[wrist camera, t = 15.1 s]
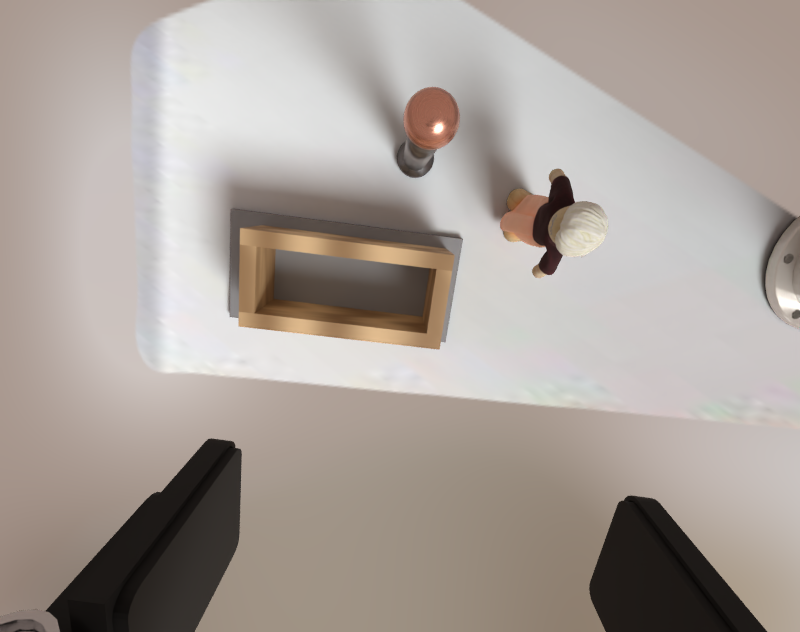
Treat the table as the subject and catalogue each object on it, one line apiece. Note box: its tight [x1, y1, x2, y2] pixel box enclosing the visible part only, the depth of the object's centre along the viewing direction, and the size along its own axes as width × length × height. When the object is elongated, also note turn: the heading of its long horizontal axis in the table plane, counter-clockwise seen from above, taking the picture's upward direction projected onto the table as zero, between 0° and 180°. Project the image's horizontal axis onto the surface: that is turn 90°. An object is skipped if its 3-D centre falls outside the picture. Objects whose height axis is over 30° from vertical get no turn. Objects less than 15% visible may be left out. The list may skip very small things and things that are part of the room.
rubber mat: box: [230, 209, 463, 342], centre depth 35 cm, size 20×10×1 cm, turn 83°
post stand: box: [397, 87, 460, 178], centre depth 25 cm, size 3×3×16 cm
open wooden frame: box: [239, 225, 455, 349], centre depth 32 cm, size 16×8×5 cm, turn 83°
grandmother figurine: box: [500, 169, 608, 278], centre depth 28 cm, size 8×4×13 cm, turn 6°
